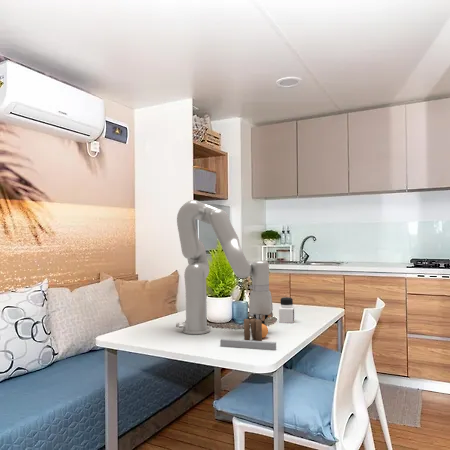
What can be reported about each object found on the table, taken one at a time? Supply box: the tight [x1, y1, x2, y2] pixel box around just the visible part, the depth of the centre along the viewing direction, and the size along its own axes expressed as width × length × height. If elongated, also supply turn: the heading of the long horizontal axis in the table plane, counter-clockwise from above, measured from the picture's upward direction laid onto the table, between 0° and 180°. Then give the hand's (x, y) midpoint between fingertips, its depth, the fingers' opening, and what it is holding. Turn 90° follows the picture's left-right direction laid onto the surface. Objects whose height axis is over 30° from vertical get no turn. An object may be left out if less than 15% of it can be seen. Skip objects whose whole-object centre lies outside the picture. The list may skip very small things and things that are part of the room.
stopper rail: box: [219, 338, 277, 351], centre depth 163 cm, size 22×2×2 cm, turn 73°
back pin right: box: [255, 319, 263, 341], centre depth 171 cm, size 2×2×9 cm
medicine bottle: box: [278, 296, 295, 324], centre depth 210 cm, size 7×7×12 cm
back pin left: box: [243, 318, 251, 341], centre depth 172 cm, size 2×2×9 cm
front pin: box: [249, 318, 257, 341], centre depth 174 cm, size 2×2×9 cm
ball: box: [262, 324, 269, 339], centre depth 178 cm, size 6×6×6 cm
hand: (261, 329), depth 187 cm, fingers closed
